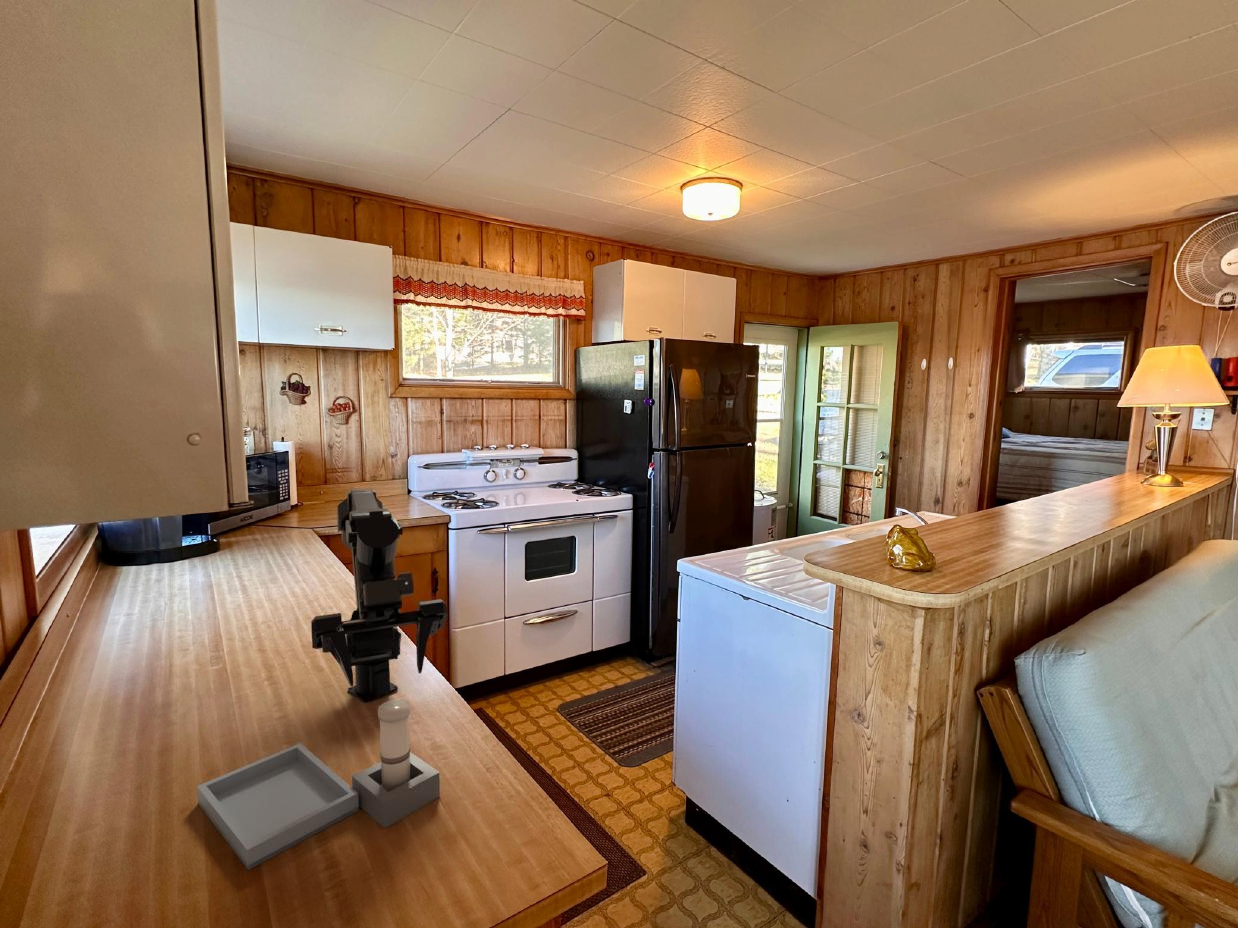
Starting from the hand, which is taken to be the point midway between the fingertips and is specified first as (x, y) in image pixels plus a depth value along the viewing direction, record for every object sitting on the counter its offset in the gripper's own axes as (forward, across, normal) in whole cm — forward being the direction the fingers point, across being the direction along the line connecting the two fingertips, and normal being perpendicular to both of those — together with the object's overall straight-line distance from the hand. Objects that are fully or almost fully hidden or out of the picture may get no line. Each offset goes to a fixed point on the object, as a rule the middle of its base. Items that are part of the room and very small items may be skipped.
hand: (386, 678), depth 87 cm
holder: (+15, 0, +4) cm, 16 cm away
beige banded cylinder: (+15, 0, +4) cm, 16 cm away
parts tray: (+12, -14, +7) cm, 20 cm away
